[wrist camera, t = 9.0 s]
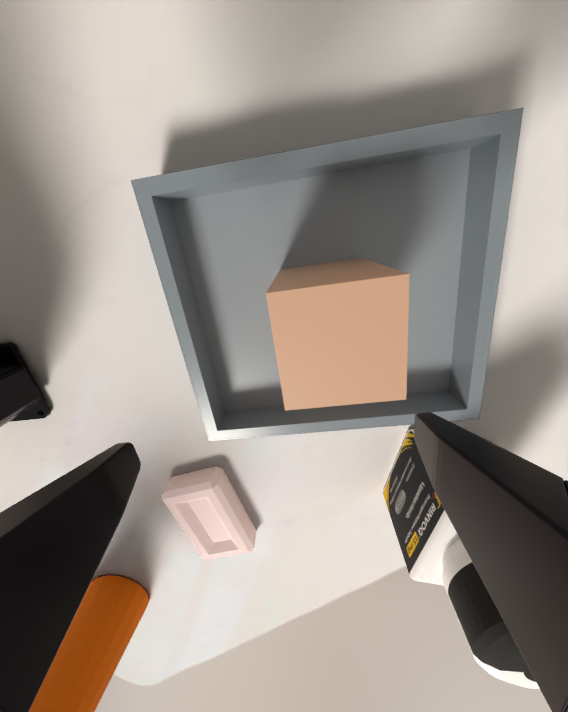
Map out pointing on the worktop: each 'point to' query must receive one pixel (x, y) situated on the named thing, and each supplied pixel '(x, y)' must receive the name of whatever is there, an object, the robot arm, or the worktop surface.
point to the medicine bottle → (449, 566)
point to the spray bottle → (92, 646)
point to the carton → (340, 333)
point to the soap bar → (210, 513)
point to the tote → (331, 244)
